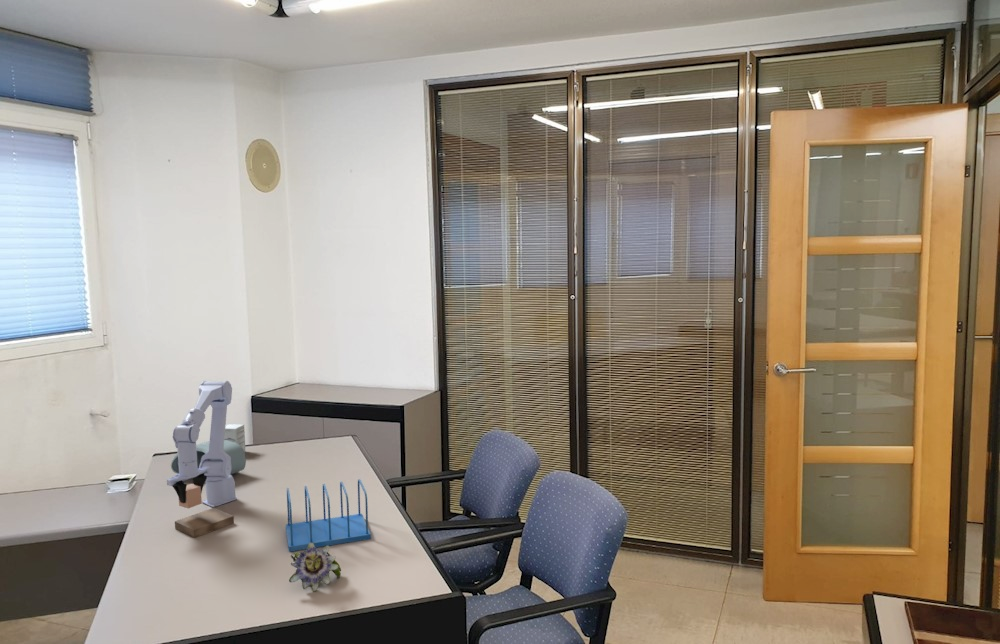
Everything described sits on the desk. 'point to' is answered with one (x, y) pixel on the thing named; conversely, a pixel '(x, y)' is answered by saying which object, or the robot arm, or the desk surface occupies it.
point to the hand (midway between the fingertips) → (190, 499)
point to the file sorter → (327, 525)
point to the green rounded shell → (229, 447)
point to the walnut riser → (204, 522)
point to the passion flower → (314, 567)
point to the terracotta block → (192, 496)
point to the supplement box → (235, 434)
